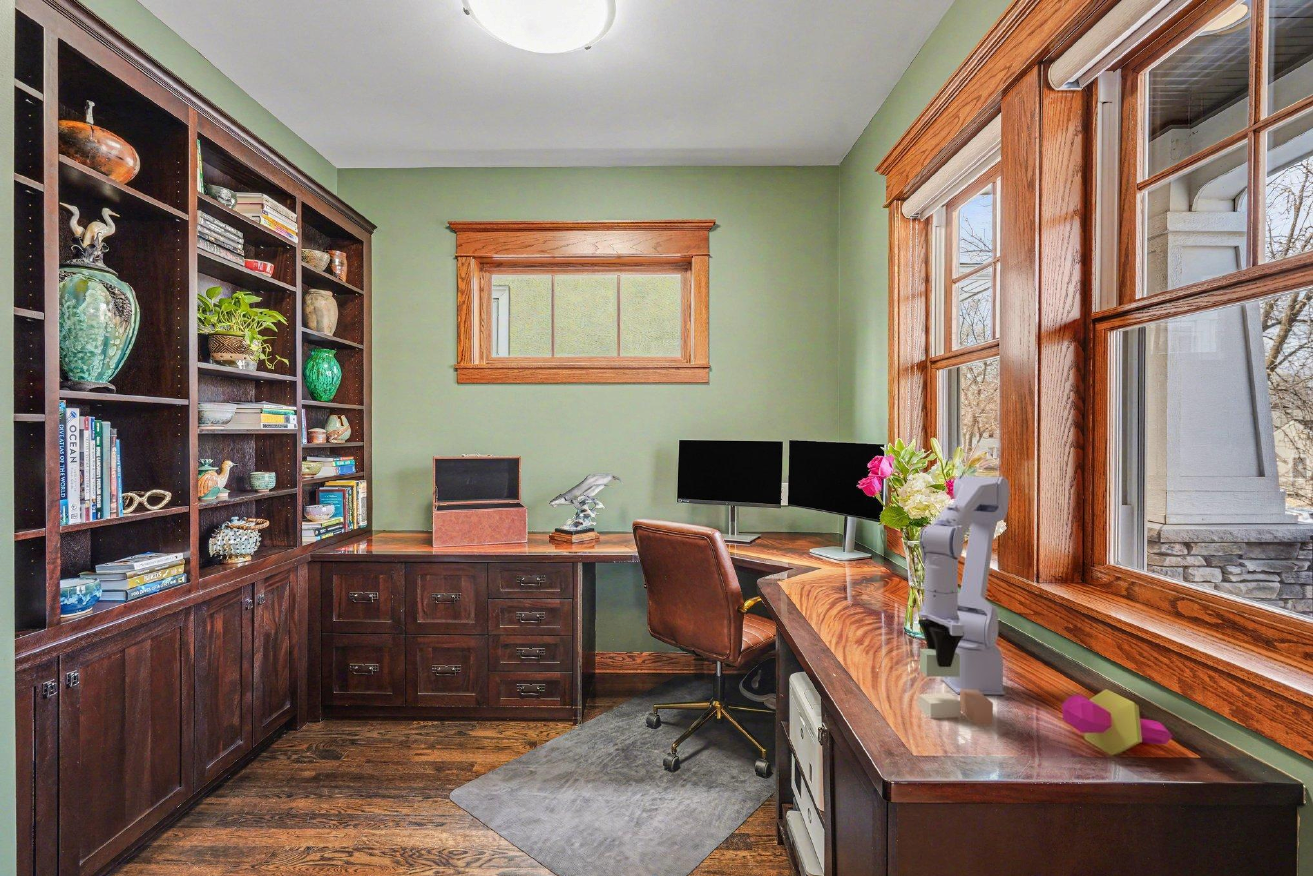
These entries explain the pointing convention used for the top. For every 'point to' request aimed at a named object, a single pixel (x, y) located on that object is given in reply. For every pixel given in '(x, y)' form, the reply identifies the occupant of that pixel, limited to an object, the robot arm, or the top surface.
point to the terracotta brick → (976, 707)
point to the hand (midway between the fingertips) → (940, 662)
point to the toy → (1112, 722)
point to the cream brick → (939, 705)
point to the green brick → (931, 666)
